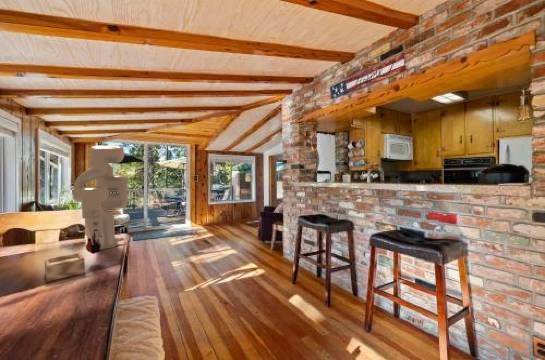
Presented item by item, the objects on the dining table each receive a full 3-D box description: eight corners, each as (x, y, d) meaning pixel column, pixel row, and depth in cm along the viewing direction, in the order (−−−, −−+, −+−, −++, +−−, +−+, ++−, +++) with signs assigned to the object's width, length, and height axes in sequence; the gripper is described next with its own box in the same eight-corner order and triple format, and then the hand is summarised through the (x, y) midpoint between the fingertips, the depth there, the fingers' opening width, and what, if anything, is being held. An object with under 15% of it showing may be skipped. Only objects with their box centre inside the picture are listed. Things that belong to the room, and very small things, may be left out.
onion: (83, 254, 116) (82, 238, 116) (96, 250, 122) (96, 235, 121) (90, 256, 114) (89, 239, 113) (103, 252, 119) (103, 236, 118)
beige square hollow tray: (79, 266, 115) (79, 252, 115) (84, 273, 107) (84, 258, 106) (45, 274, 106) (44, 259, 106) (47, 282, 98) (46, 265, 98)
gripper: (107, 215, 114) (108, 253, 115) (96, 210, 125) (97, 245, 126) (87, 217, 108) (89, 257, 109) (77, 212, 119) (79, 249, 120)
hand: (93, 250), depth 118 cm, fingers closed on onion, 5 cm apart
